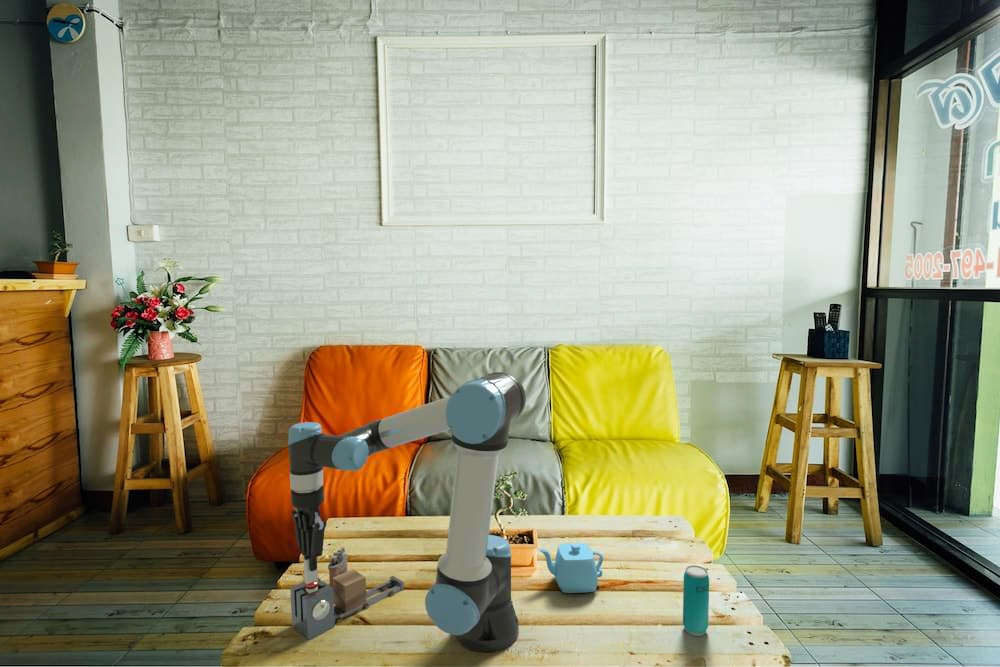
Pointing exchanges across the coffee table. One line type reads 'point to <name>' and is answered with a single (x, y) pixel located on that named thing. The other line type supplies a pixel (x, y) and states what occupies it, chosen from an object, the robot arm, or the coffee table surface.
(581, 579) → the teapot
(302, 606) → the gauge cabinet
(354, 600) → the carriage
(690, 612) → the beverage can
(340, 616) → the rail track
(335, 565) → the red pack with sticks
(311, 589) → the gauge plunger
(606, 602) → the coffee table surface
